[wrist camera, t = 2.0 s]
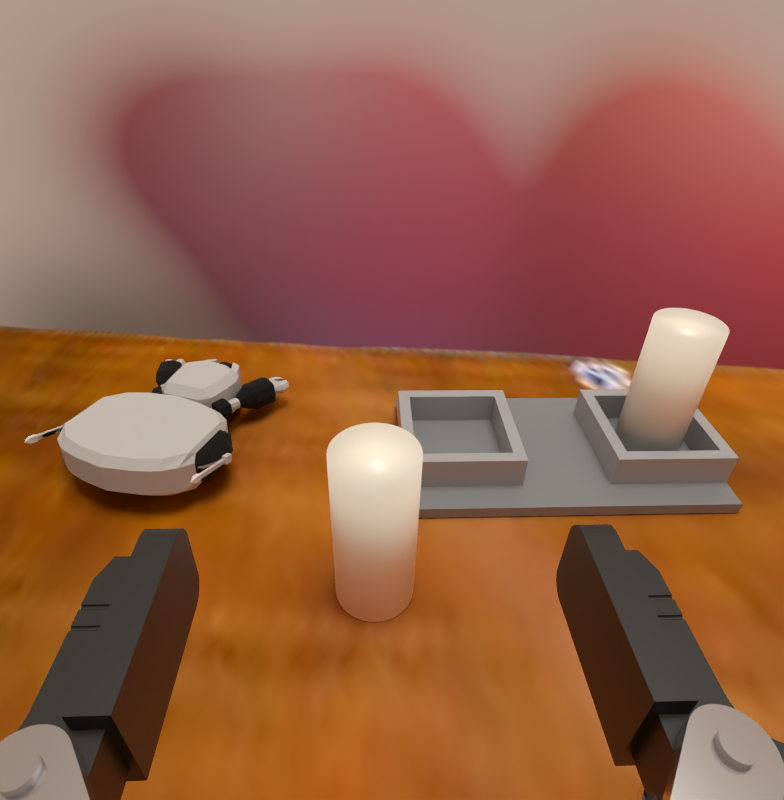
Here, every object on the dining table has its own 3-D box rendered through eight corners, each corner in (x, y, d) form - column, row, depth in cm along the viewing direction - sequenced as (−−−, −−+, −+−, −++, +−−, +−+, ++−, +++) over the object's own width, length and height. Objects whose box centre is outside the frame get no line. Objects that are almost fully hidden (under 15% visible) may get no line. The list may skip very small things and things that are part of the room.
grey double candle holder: (658, 405, 45) (703, 284, 39) (738, 512, 36) (816, 375, 29) (396, 407, 44) (399, 283, 38) (404, 518, 35) (411, 377, 28)
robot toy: (173, 385, 48) (34, 491, 36) (164, 338, 46) (12, 435, 33) (300, 410, 46) (198, 535, 33) (298, 362, 43) (186, 478, 31)
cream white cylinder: (410, 553, 32) (418, 422, 27) (416, 621, 29) (427, 485, 23) (337, 555, 32) (329, 423, 26) (333, 623, 29) (323, 487, 23)
